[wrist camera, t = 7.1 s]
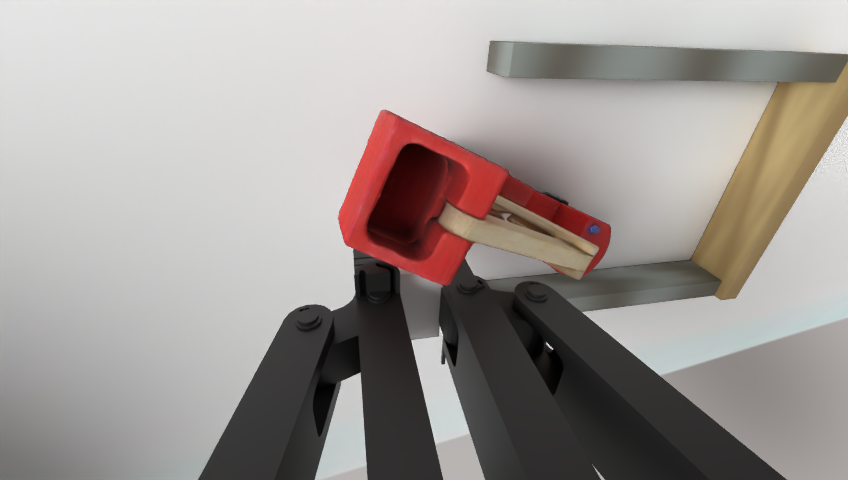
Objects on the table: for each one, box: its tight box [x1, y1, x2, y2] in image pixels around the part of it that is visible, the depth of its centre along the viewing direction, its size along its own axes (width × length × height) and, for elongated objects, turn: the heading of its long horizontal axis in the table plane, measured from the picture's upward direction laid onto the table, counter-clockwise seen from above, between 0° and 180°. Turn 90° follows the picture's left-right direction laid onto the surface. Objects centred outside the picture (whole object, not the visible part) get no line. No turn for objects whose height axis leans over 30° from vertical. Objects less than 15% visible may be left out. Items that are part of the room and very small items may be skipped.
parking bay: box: [486, 41, 848, 312], centre depth 20 cm, size 18×14×3 cm
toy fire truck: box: [338, 110, 611, 286], centre depth 14 cm, size 3×14×10 cm, turn 63°
